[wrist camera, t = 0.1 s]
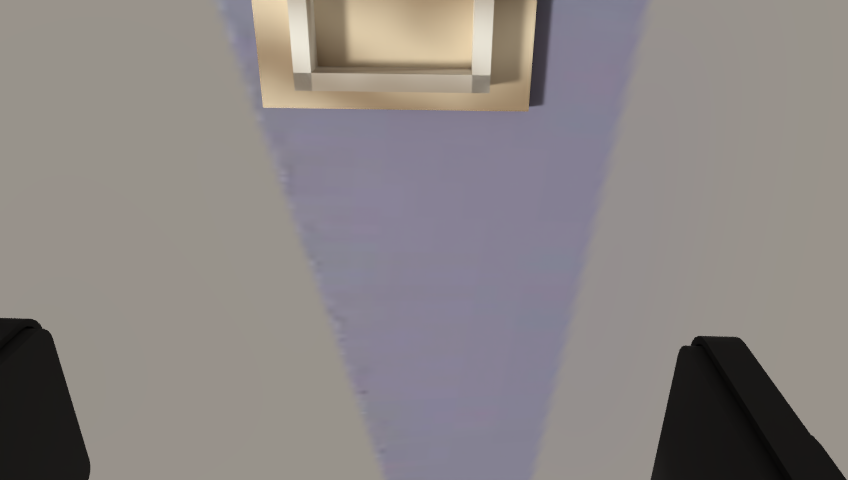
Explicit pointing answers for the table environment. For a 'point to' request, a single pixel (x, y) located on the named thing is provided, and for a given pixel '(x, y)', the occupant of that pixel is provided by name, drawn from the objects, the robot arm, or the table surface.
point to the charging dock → (395, 54)
